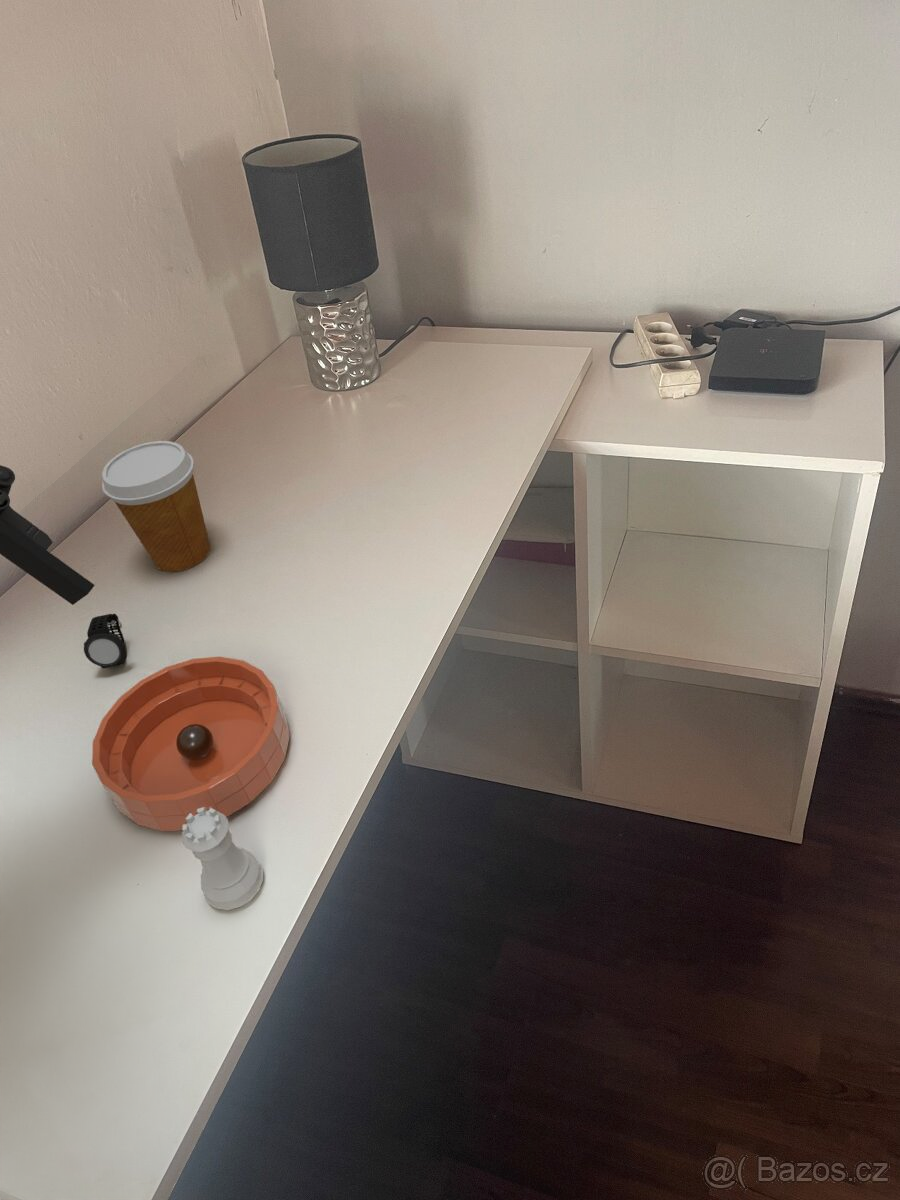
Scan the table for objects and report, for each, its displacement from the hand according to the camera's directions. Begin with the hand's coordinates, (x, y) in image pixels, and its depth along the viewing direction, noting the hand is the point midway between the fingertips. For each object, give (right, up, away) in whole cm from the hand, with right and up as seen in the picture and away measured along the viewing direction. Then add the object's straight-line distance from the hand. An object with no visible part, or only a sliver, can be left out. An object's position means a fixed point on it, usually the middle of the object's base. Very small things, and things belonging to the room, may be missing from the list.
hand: (17, 683), depth 50 cm
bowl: (+4, -9, +23) cm, 25 cm away
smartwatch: (-7, -1, +35) cm, 35 cm away
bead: (+4, -7, +22) cm, 24 cm away
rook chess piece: (+9, -16, +14) cm, 23 cm away
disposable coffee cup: (-5, +10, +47) cm, 48 cm away
